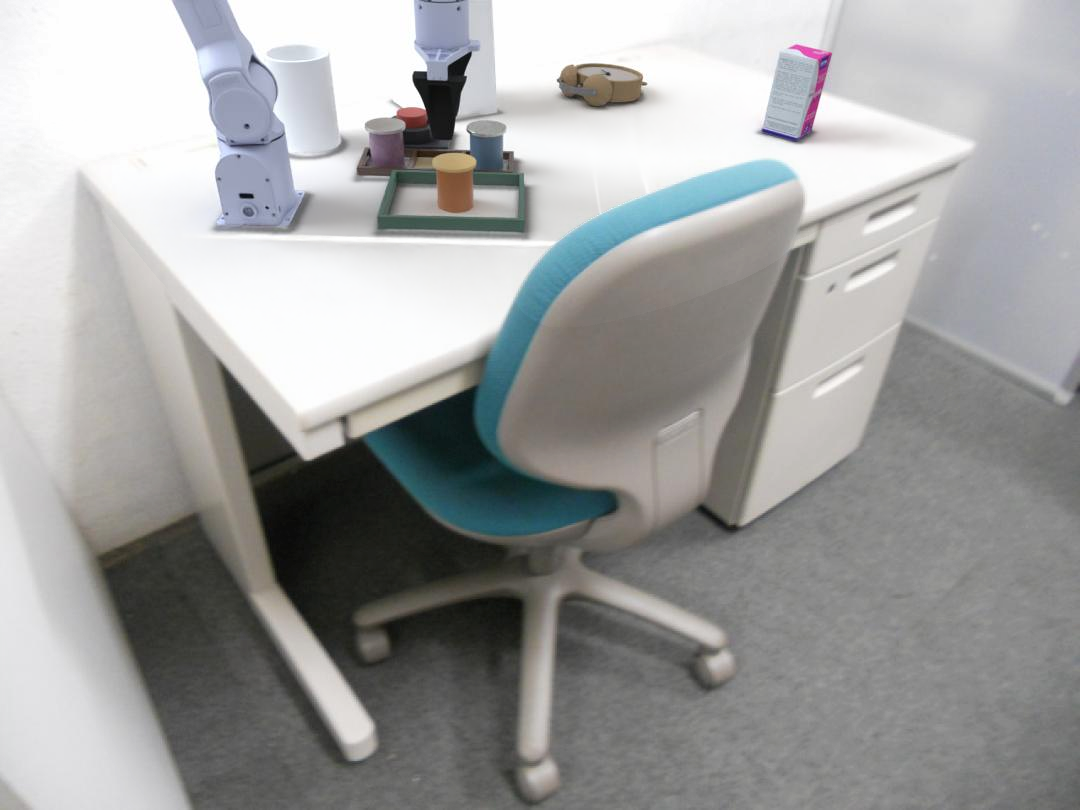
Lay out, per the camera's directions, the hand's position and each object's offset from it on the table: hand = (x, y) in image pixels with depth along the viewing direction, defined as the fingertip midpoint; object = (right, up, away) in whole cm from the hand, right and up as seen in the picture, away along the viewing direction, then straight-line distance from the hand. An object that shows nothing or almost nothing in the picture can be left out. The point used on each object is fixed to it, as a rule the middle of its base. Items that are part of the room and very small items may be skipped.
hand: (445, 126), depth 94 cm
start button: (-6, +6, +17) cm, 19 cm away
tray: (+1, -9, +3) cm, 9 cm away
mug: (-22, +4, +18) cm, 29 cm away
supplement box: (+47, +8, +28) cm, 55 cm away
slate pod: (+4, -1, +12) cm, 13 cm away
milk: (-4, +14, +32) cm, 35 cm away
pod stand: (-2, -1, +12) cm, 13 cm away
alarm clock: (+20, +17, +38) cm, 46 cm away
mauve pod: (-9, -1, +12) cm, 15 cm away
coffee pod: (+1, -8, +3) cm, 9 cm away
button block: (-7, +4, +19) cm, 20 cm away
